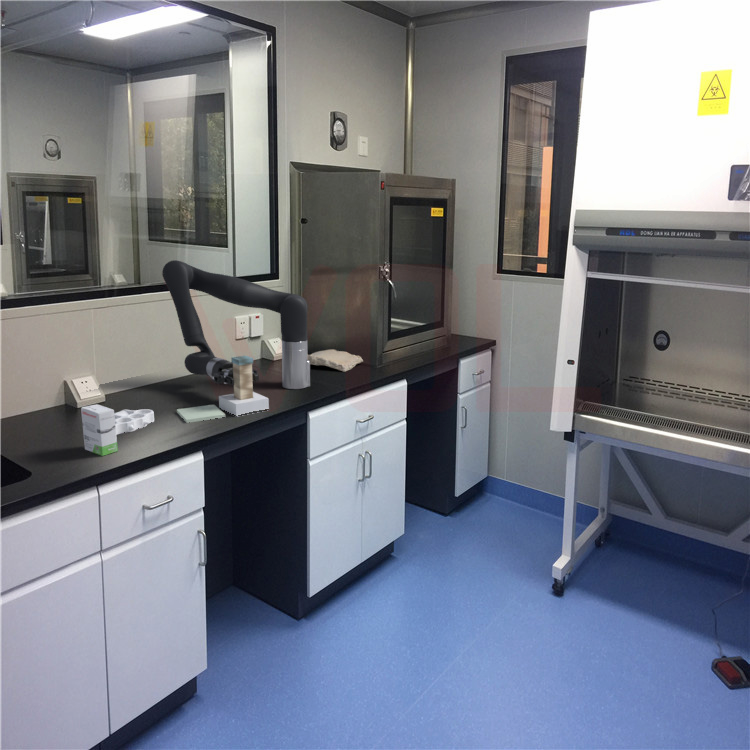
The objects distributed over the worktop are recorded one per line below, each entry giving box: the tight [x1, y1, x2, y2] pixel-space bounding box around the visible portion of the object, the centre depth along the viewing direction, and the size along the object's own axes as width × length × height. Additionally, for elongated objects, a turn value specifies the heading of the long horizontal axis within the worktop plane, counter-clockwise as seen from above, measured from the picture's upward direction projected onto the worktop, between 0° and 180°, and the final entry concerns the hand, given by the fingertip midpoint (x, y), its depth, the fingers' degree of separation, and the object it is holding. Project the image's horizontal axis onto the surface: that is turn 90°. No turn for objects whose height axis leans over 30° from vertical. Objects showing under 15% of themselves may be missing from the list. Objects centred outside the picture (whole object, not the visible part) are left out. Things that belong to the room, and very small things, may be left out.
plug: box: [230, 355, 254, 400], centre depth 215 cm, size 5×5×17 cm
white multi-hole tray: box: [114, 408, 155, 436], centre depth 199 cm, size 3×18×15 cm
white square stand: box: [218, 391, 270, 417], centre depth 217 cm, size 12×12×4 cm
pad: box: [176, 404, 226, 424], centre depth 210 cm, size 12×12×1 cm
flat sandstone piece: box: [308, 348, 364, 372], centre depth 278 cm, size 24×8×20 cm
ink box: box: [80, 403, 119, 457], centre depth 177 cm, size 9×5×12 cm, turn 53°
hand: (245, 380), depth 213 cm, fingers open, 8 cm apart
